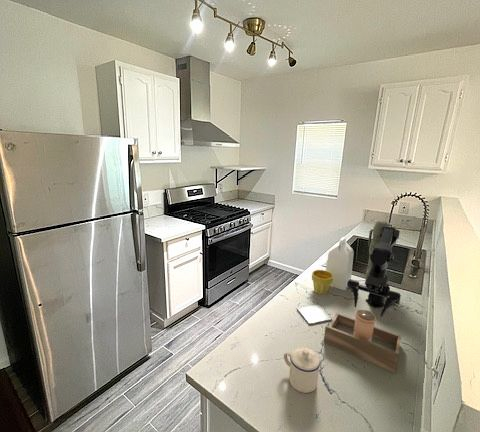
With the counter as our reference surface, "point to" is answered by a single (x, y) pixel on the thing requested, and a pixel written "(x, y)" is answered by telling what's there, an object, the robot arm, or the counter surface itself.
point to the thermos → (374, 241)
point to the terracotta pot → (364, 325)
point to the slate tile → (314, 314)
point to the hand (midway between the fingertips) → (367, 312)
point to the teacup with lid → (303, 369)
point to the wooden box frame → (363, 343)
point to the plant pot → (321, 281)
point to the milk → (340, 264)
